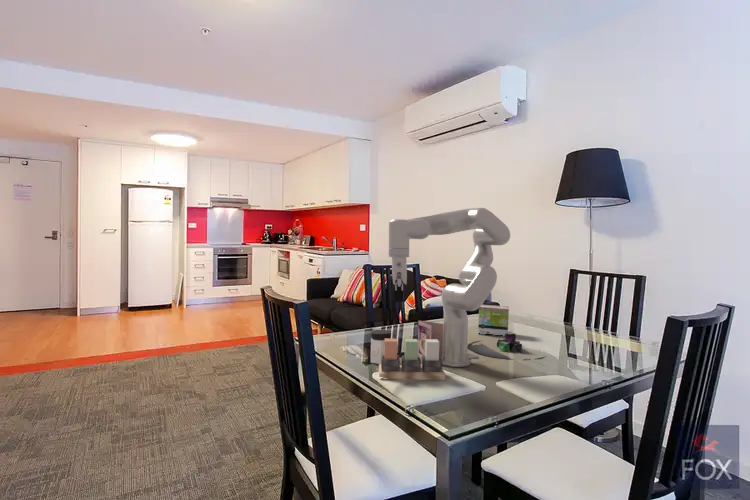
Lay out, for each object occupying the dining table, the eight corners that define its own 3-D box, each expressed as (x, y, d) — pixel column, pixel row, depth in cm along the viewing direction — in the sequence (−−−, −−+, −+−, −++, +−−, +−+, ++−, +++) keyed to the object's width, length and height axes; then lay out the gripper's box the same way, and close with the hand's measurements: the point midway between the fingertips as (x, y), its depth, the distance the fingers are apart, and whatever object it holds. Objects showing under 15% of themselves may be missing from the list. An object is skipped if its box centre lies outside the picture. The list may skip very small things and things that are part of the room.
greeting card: (415, 355, 181) (416, 320, 181) (431, 354, 184) (432, 319, 183) (428, 363, 170) (429, 325, 170) (444, 361, 173) (445, 324, 172)
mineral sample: (555, 363, 174) (555, 340, 174) (467, 356, 181) (468, 334, 181) (540, 348, 208) (540, 329, 208) (466, 342, 215) (466, 324, 215)
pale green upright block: (416, 358, 157) (416, 339, 157) (417, 361, 153) (418, 341, 152) (404, 357, 157) (405, 338, 157) (405, 361, 152) (405, 341, 152)
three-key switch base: (440, 370, 160) (440, 354, 160) (445, 380, 149) (445, 363, 149) (378, 369, 160) (379, 353, 160) (379, 379, 149) (379, 361, 149)
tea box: (477, 334, 224) (478, 306, 223) (479, 330, 233) (479, 303, 233) (507, 337, 219) (508, 308, 219) (507, 333, 229) (508, 305, 228)
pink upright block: (396, 357, 157) (396, 338, 157) (396, 361, 152) (397, 341, 152) (384, 357, 157) (384, 338, 157) (384, 360, 152) (384, 341, 152)
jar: (365, 362, 169) (366, 332, 169) (375, 357, 176) (376, 328, 176) (385, 365, 165) (386, 335, 165) (395, 360, 172) (395, 331, 172)
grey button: (436, 358, 157) (437, 339, 157) (438, 361, 153) (439, 342, 152) (424, 358, 157) (425, 339, 157) (426, 361, 153) (426, 342, 152)
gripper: (410, 254, 148) (410, 303, 148) (408, 252, 165) (408, 296, 166) (388, 254, 148) (388, 303, 149) (388, 252, 165) (388, 296, 166)
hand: (398, 299), depth 157 cm, fingers open, 9 cm apart
